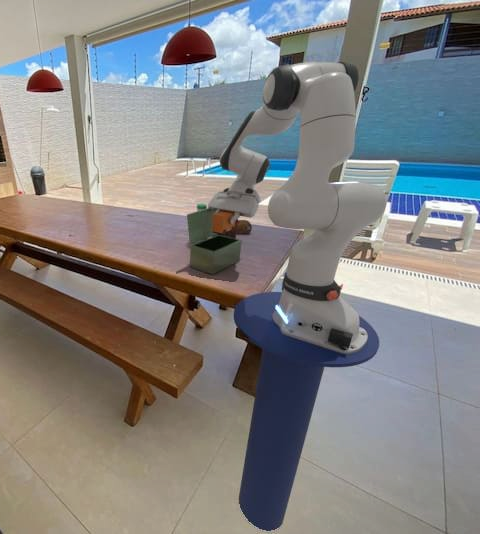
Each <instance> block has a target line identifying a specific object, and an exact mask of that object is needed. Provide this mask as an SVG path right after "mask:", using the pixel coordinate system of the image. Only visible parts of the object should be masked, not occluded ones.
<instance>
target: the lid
mask: <svg viewBox="0 0 480 534" xmlns="http://www.w3.org/2000/svg"><path fill="white" fill-rule="evenodd" d="M213 214H216V212H214V211H211V210H210V209H209V208H208V207H207V208H206V209H204V210H201V211H197V210H196V211H194V212H190V213H188V214H186V221H187V229H188V239H189V245H193V244H195V243H196V242H199V241H201V240H204V239H206V238H211V237H212V236H214V235H217V233H213V232H212V219H213Z"/></svg>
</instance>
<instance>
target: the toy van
mask: <svg viewBox="0 0 480 534" xmlns="http://www.w3.org/2000/svg"><path fill="white" fill-rule="evenodd" d="M233 216H235V212H230V211H222V212H219V213H216V214H213V219H212V232H213V233H217V234H221V235H225V234H226V232H227V231H231V232H233V231H234V229H235V222H236V220H235V221H234V223H233V224H229V223H228V220H229V219H230V218H232V217H233Z"/></svg>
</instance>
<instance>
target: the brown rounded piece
mask: <svg viewBox="0 0 480 534" xmlns="http://www.w3.org/2000/svg"><path fill="white" fill-rule="evenodd" d="M252 229H253V227H252V223H251V222H250V221H249V220H247V219H238V224H237V233H236V234H250V233H251V231H253V230H252Z"/></svg>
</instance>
